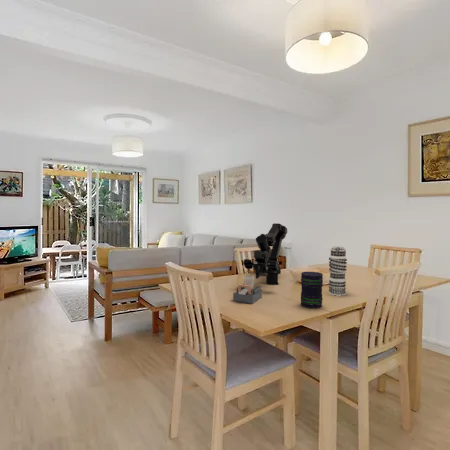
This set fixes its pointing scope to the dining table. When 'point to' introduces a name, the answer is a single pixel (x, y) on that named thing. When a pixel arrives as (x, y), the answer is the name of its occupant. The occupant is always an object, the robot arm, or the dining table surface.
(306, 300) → the storage jar
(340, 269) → the decorative candle
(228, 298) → the dining table surface
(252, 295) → the grey walled tray
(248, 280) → the tapered wooden notched block
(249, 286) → the lug
